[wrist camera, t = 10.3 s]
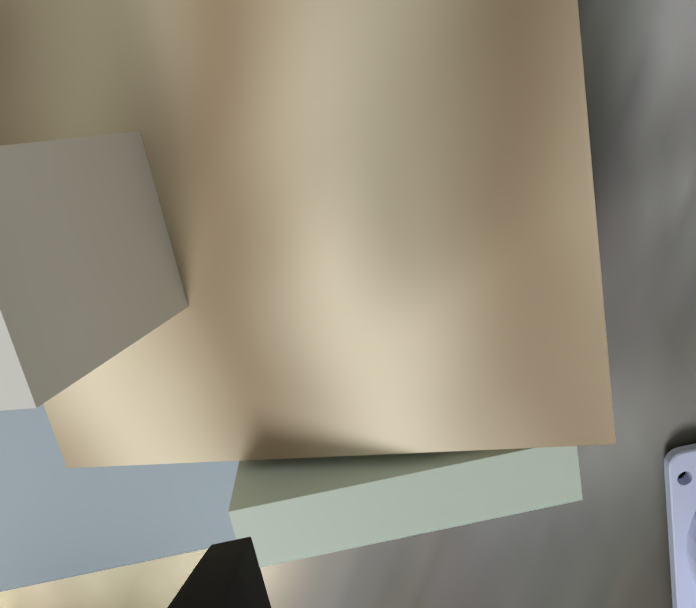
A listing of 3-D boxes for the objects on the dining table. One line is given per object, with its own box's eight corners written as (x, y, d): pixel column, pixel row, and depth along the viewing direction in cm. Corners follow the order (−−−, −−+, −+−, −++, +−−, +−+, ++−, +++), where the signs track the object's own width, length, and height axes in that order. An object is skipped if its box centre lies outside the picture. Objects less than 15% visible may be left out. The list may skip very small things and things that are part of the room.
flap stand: (423, -185, 16) (490, -372, 10) (505, 408, 20) (584, 517, 14) (114, -121, 16) (-1, -273, 10) (267, 457, 20) (250, 588, 14)
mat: (270, 527, 21) (270, 535, 20) (-33, 591, 21) (-40, 600, 20) (62, -239, 15) (55, -249, 14) (-365, -152, 15) (-383, -160, 14)
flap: (543, -140, 13) (557, -236, 10) (590, 361, 17) (615, 444, 13) (31, 18, 18) (-107, -4, 14) (150, 396, 21) (66, 468, 17)
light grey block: (188, 306, 14) (36, 408, 10) (49, 323, 15) (-147, 421, 11) (139, 131, 13) (-59, 151, 9) (-7, 163, 14) (-250, 197, 10)
